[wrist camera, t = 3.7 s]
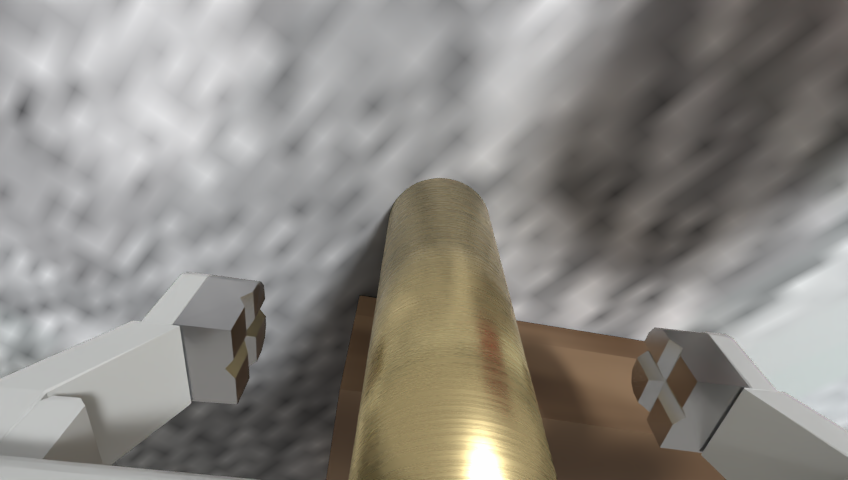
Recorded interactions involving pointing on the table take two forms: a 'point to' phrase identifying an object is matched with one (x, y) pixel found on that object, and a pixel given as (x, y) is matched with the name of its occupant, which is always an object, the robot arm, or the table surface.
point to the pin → (446, 353)
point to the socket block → (554, 406)
